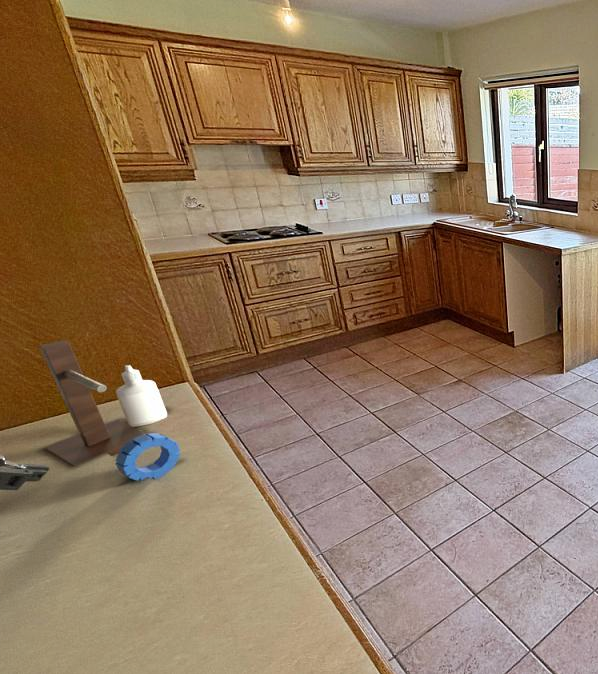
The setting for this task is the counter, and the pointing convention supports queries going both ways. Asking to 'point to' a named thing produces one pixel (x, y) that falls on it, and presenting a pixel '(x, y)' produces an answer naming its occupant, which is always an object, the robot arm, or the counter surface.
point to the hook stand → (83, 410)
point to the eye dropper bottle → (140, 399)
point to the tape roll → (139, 444)
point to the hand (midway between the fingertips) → (18, 459)
